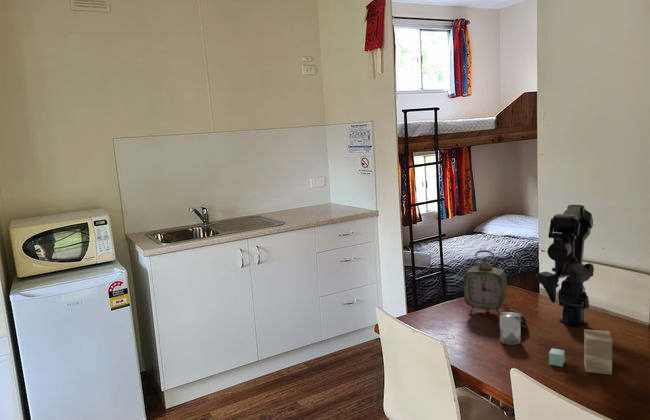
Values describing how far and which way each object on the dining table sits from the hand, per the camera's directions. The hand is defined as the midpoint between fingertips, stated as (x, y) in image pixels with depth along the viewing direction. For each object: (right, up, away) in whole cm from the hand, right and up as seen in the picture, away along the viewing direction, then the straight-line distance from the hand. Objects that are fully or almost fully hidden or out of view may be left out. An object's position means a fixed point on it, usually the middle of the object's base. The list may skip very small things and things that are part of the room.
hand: (564, 300), depth 161 cm
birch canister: (0, -16, -19) cm, 25 cm away
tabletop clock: (-16, -10, +28) cm, 34 cm away
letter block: (-9, -16, -14) cm, 23 cm away
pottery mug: (-12, -13, +12) cm, 21 cm away
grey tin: (-17, -14, +2) cm, 22 cm away
